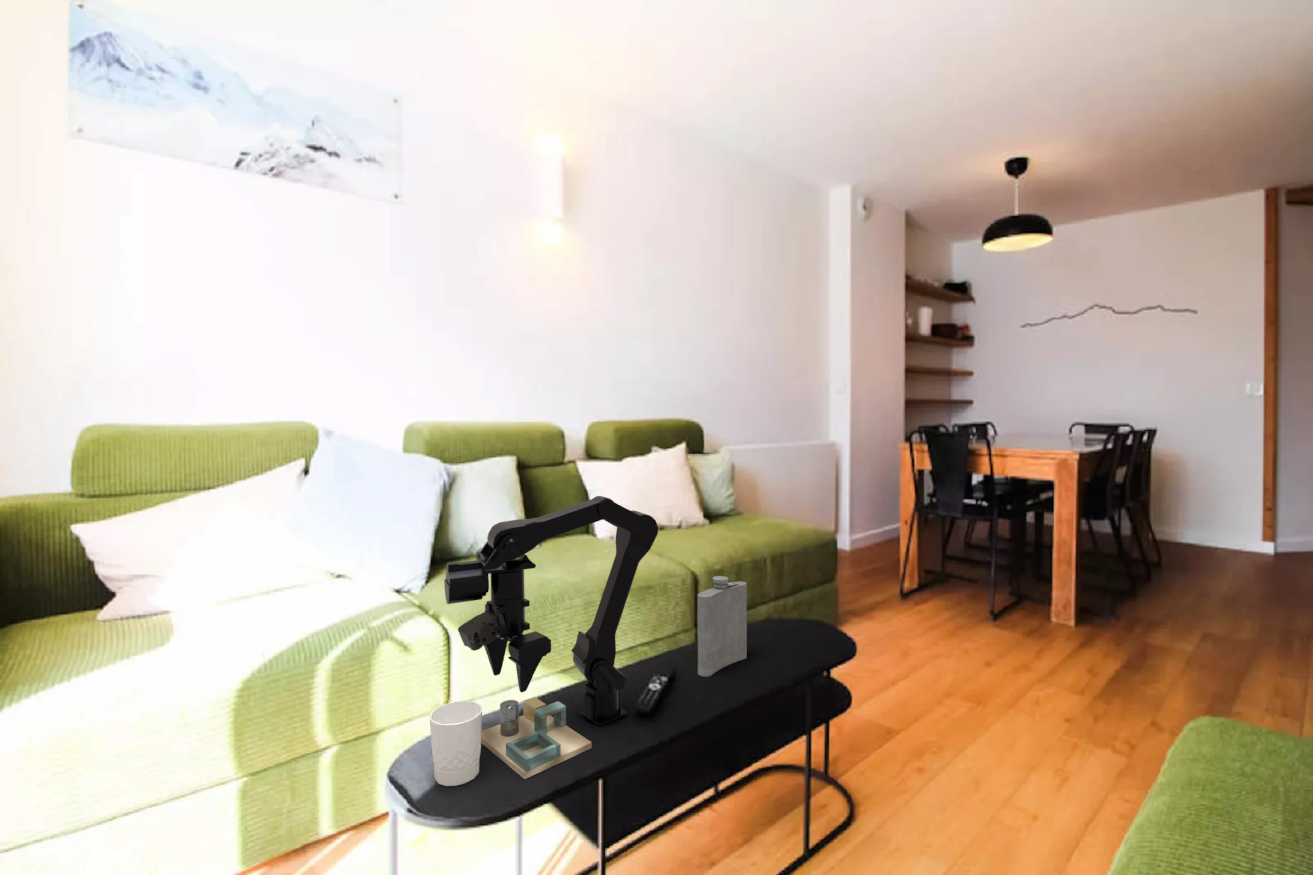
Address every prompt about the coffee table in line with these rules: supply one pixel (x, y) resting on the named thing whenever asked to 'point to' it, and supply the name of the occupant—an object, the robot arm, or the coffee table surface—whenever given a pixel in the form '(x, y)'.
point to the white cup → (456, 741)
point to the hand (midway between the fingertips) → (509, 683)
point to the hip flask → (722, 625)
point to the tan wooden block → (531, 707)
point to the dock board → (537, 741)
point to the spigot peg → (509, 718)
